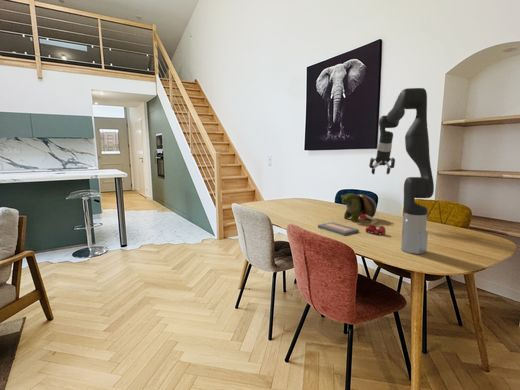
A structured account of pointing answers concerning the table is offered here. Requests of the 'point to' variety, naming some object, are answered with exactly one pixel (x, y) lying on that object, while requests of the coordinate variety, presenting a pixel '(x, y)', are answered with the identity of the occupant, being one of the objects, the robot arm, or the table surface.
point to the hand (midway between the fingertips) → (380, 173)
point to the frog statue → (358, 206)
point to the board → (338, 228)
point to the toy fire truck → (371, 226)
